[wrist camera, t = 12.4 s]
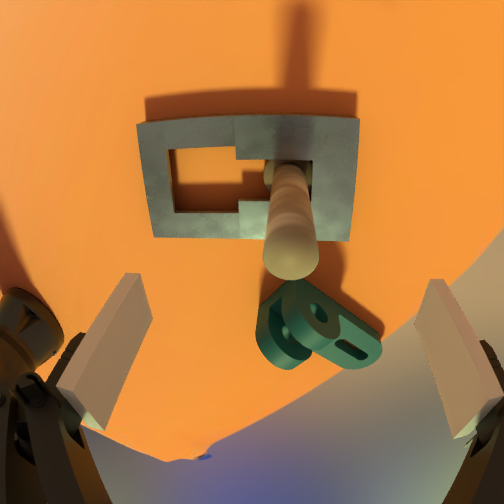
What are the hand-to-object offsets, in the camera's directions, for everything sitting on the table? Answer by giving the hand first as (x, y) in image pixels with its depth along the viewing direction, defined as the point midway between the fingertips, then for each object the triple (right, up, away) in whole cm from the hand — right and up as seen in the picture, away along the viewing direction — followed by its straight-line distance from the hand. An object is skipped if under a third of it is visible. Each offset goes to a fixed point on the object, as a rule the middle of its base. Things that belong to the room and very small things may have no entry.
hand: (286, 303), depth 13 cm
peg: (+2, +10, +16) cm, 19 cm away
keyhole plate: (-2, +10, +16) cm, 19 cm away
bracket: (+9, -7, +26) cm, 28 cm away
